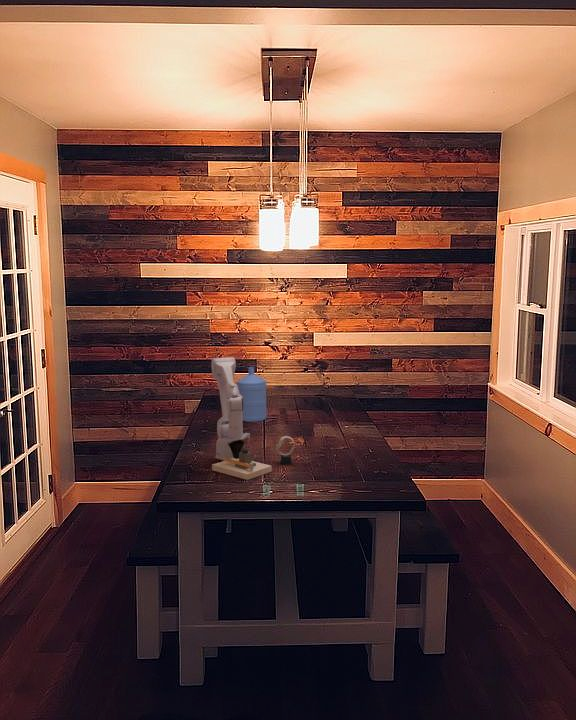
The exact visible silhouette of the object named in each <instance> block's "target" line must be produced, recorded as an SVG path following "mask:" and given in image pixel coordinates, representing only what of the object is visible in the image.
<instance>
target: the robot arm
mask: <svg viewBox="0 0 576 720" xmlns="http://www.w3.org/2000/svg"><path fill="white" fill-rule="evenodd" d="M236 364H237V363H236V359H235V358H234V356H230V357H216V358H215V357H212V359H211V366H210V367H211V374H212V378H213V379H214V380H216V381H217V384H218V391H219V392H218V393H219V398H220V399H219V400H220V405H221V414H222V416H221V417H220V418H219V419H218V420H217V424H216V433H217V441H216V442H215V443H216V444H215V447H216V448H215V449H216V450H215V451H216V455H215V457H214V459H217V460H220V461H223V458H228V459H232V458H234V459H239V452H242V449H243V448H244V445H245V441H244V440H245V439H250V438H251V434H250V433H249V432H243V431H244V427H243V422H244V421H243V420H242V410H244V401H243V397H242V396H241V395H240V393H239V390H238V386H237V383H235V380H234V375H235V373H236V372H235V371H236V367H237V365H236Z"/></svg>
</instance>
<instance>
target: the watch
mask: <svg viewBox="0 0 576 720" xmlns="http://www.w3.org/2000/svg"><path fill="white" fill-rule="evenodd" d="M285 439H289V440H291V441H292V448H291V449H290V451H289V452H285V453H283V452H281V451H280V450H279V449H280V448H281V446H282V445H283V443H284V440H285ZM295 447H296V445H295V440H294V439H293V437H291V436H287V435H284V436H281V437H280V438H279V440H278V441H277V443H276V445H275V448H276V451H277V453H278V454H279V455H280V465H292V454H293V452H294V450H295Z"/></svg>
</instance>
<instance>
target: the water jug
mask: <svg viewBox="0 0 576 720" xmlns="http://www.w3.org/2000/svg"><path fill="white" fill-rule="evenodd" d="M247 369H248V370H247V371H248V374H247V375H246V376H243V377H242V378H239V379H238V380H237V382H236V384H237V386H238V390H239V393H240V395H241V396H242V397H243V401H244V410H242V420H243V422H244V421H245V422H246V423H257V422H262V421H265V420H267V418H268V414H267V403H268V402H267V380H266V379H264V378H262V377H260V376H258V375H255V367H254V366H249V367H248V368H247Z"/></svg>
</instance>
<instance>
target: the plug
mask: <svg viewBox="0 0 576 720" xmlns="http://www.w3.org/2000/svg"><path fill="white" fill-rule="evenodd" d="M252 457H253V456H252V451H249V448H247V447H242V449H241V452H239V461H240V462H244V463H248V464H249V463H253V462H252V461H253V459H252ZM235 466H236V467H240V468H244V469H247V468H249V467H246V466H242V465H238V464H235ZM254 466H256V463H254Z"/></svg>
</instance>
